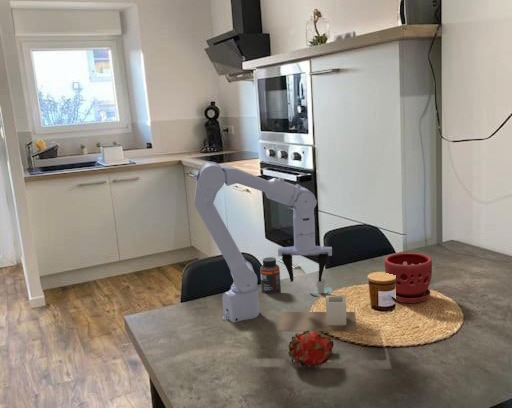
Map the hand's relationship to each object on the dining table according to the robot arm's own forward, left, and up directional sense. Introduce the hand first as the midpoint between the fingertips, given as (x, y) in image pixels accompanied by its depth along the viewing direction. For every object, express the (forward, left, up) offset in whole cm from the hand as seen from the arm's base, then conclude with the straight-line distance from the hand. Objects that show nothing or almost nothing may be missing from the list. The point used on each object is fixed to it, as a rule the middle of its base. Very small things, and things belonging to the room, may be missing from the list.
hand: (305, 280), depth 146 cm
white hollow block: (+1, -12, -8) cm, 14 cm away
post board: (-3, -9, -9) cm, 13 cm away
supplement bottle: (-1, +18, -10) cm, 20 cm away
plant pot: (+30, -8, -10) cm, 33 cm away
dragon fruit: (-15, -24, -10) cm, 30 cm away
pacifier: (+10, +8, -10) cm, 16 cm away
